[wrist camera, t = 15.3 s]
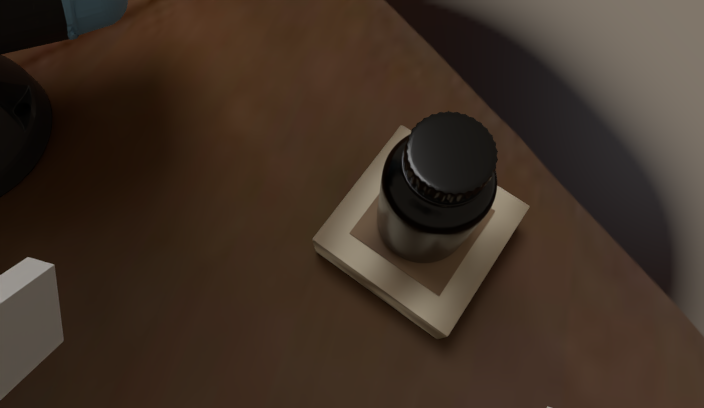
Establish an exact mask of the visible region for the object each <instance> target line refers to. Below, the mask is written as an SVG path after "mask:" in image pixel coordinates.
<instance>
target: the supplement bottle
mask: <svg viewBox="0 0 704 408" xmlns="http://www.w3.org/2000/svg"><path fill="white" fill-rule="evenodd" d="M497 152H498V151H497V149H496V143H495V142H494V140H493V137H492V135H491V134H490V133H489V132H488V129H487V128H485V127H483V125H482V123H480V122H478V121H476V120H475V119H474V118H472V117H469V116H467V115H466V114H460V113H458V112H454V113H452V112H449V111H448V112H445V113H443V112H439V113H438V114H432V115H430V116H429V117H427V118H424V119H423V120H422V121H421V122H419V123H417V125H416V127H415V128H413V129H412V130H411V134H409V135H407V136H406V137H404V138H403V139H402V140H400V141H399V142H398V143H397V144H396V145H395V146H394V147H393V149H392V150H391V151H390V153H389V154H388V156H387V158H386V161H385V164H384V167H383V171H382V177H381V185H380V193H379V200H378V208H377V225H378V230H379V233H380V235H381V237H382V239H383V241H384V243H385V244H386V245H387V247H388V248H389V249H390V250H391V251H392V252H394V253H395V254H396V255H398V256H399V257H401V258H403V259H405V260H408V261H411V262H415V263H433V262H437V261H440V260H443V259H445V258H447V257H448V256H450V255H451V254H452V253H454V252H455V251H456V250H457V249H458V248H459V247H460V246H461V245H462V243H463V242H464V241H465V240H466V239H467V238H468V236H469V235H470V234H471V233H472V232H473V230H474V229H475V228H476V227H477V226H478V225H479V223H480V222H481V221H482V220H483V219H484V218H485V216H486V215H487V214H488V212H489V210H490V209H491V207H492V205H493V203H494V200H495V197H496V192H497V175H496V171H495V169H496V163H497V160H498V159H497V156H496V155H497Z"/></svg>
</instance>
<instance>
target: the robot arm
mask: <svg viewBox="0 0 704 408" xmlns="http://www.w3.org/2000/svg"><path fill="white" fill-rule="evenodd" d="M127 4H128V0H0V196H2V195H3V194H5V193H6V192H8V191H9V190H10V189H12V188H13V187H14V186H16V185H17V184H18V183H19V182H20V181H21V180H22V179H23V178H24V177H25V176H26V175H27V174H28V173H29V172H30V171H31V170H32V168H33V167H34V166H35V165H36V163H37V162H38V160H39V159H40V157H41V155H42V153H43V151H44V149H45V147H46V145H47V142H48V139H49V136H50V132H51V125H52V113H51V106H50V103H49V99H48V97H47V95H46V93H45V91H44V90H43V88H42V87H41V85H40V84H39V83H38V82H37V81H36V80H35V79H34V78H33V77H32V76H30V75H29V74H28V73H27V72H26V71H25V70H24V69H23V68H22V67H20V66H19V65H18V64H16V63H15V62H13V61H12V60H10V59H9V58H7V57H5V56H3V55H1V54H5V53H9V52H14V51H18V50H23V49H27V48H32V47H36V46H41V45H45V44H50V43H54V42H59V41H63V40H68V39H70V40H72V39H77V38H78V36H79V35H81V34H84V33H87V32H90V31H94V30H97V29H100V28H103V27H106V26H110V25H112V24H114V23H115V22H117V21H118V20H119V19H121V17H122V16H123V14H124V13H125V11H126V8H127ZM63 341H64V338H63V330H62V322H61V314H60V306H59V298H58V289H57V281H56V273H55V265H54V264H51V263H47V262H44V261H40V260H37V259H33V258H30V257H27V258H26V259H24V260H23V261H21V262H20V263H18V264H17V265H15V266H13V267H12V268H10V269H9V270H7V271H6V272H4V273H3V274H1V275H0V400H1V399H2V398H3V397H5V396H6V395H7V394H8V393H9V392H10V391H11V390H12V389H13V388H14V387H15V386H16V385H17V384H18V383H19V382H21V381H22V380H23V379H24V378H25V377H26V376H27V375H28V374H29V373H30V372H31V371H32V370H33V369H34V368H35V367H36V366H38V365H39V364H40V363H41V362H42V361H43V360H44V359H45V358H46V357H47V356H48V355H49V354H50V353H51V352H52V351H54V350H55V349H56V348H57V347H58V346H59V345H60V344H61V343H62V342H63ZM547 408H550V407H547Z"/></svg>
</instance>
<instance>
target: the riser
mask: <svg viewBox="0 0 704 408" xmlns="http://www.w3.org/2000/svg"><path fill="white" fill-rule="evenodd" d="M409 134H411V131H410V130H409V129H407V128H406V127H404V126H402V125H401V126H400V127H399V129H398V130H397V131H396V132H395V134H394V135H393V136H392V138H391V139H390V140H389V141H388V143H387V144H386V145H385V147H384V148H383V149H382V150H381V152H380V153H379V154H378V155H377V157H376V158H375V159H374V161H373V162H372V163H371V164H370V166H369V167H368V168H367V170H366V171H365V172H364V173H363V175H362V176H361V177H360V179H359V180H358V181H357V182H356V184H355V185H354V186H353V188H352V189H351V190H350V191H349V193H348V194H347V195H346V197H345V198H344V199H343V200H342V202H341V203H340V204H339V206H338V207H337V208H336V209H335V211H334V212H333V213H332V215H331V216H330V217H329V218H328V220H327V221H326V222H325V224H324V225H323V226H322V227H321V229H320V230H319V231H318V233H317V234H316V235H315V236H314V238H313V239H312V240H313V243H314V247H315V250H316V252H317V253H319V254H320V255H322V256H323V257H324V258H326V259H327V260H328V261H330V262H331V263H333V264H334V265H335V266H337V267H338V268H339V269H341V270H342V271H344V272H345V273H346V274H348V275H349V276H350V277H352V278H353V279H355V280H356V281H357V282H359V283H360V284H362V285H363V286H364V287H366V288H367V289H368V290H370V291H371V292H373V293H374V294H375V295H377V296H378V297H379V298H381V299H382V300H384V301H385V302H386V303H388V304H389V305H390V306H392V307H393V308H395V309H396V310H397V311H399V312H400V313H401V314H403V315H404V316H406V317H407V318H408V319H410V320H411V321H412V322H414V323H415V324H417V325H418V326H419V327H421V328H422V329H424V330H425V331H426V332H428V333H429V334H430V335H432V336H433V337H435V338H436V339H440V338H444V337H448V335H449V334H450V332H451V331H452V329H453V327H454V326H455V324H456V323H457V321H458V319H459V318H460V316H461V315H462V313H463V312H464V310H465V308H466V307H467V305H468V304H469V302H470V300H471V299H472V297H473V296H474V294H475V293H476V291H477V289H478V288H479V286H480V285H481V283H482V281H483V280H484V278H485V277H486V275H487V273H488V272H489V270H490V269H491V267H492V266H493V264H494V262H495V261H496V259H497V258H498V256H499V254H500V253H501V251H502V250H503V248H504V246H505V245H506V243H507V242H508V240H509V239H510V237H511V235H512V234H513V232H514V231H515V229H516V227H517V226H518V224H519V223H520V221H521V220H522V218H523V216H524V215H525V213H526V212H527V210H528V208H529V207H530V206H529V205H527V204H525V203H524V202H522V201H521V200H519V199H518V198H516V197H514V196H513V195H511V194H510V193H508V192H506V191H505V190H503V189H502V188H500V187H499V186H497V192H496V197H495V200H494V203H493V205H492V207H491V209H490V210H489V212H488V214H487V215H486V216H485V218H484V219H483V220H482V221H481V222H480V223H479V225H478V226H477V227H476V228H475V229H474V230H473V232H472V233H471V234H470V235H469V236H468V238H467V239H466V240H465V241H464V242H463V243H462V245H461V246H460V247H459V248H458V249H457V250H456V251H455V252H454V253H452V254H451V255H450V256H448V257H447V258H445V259H443V260H440V261H437V262H433V263H415V262H411V261H408V260H405V259H403V258H401V257H399V256H398V255H396V254H395V253H394V252H392V251H391V250H390V249H389V248H388V247H387V245H386V244H385V243H384V241H383V239H382V237H381V235H380V233H379V230H378V225H377V208H378V200H379V193H380V185H381V177H382V171H383V167H384V164H385V161H386V158H387V156H388V154H389V153H390V151H391V150H392V149H393V147H394V146H395V145H396V144H397V143H398V142H399V141H400V140H402V139H403V138H404V137H406V136H407V135H409Z"/></svg>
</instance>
